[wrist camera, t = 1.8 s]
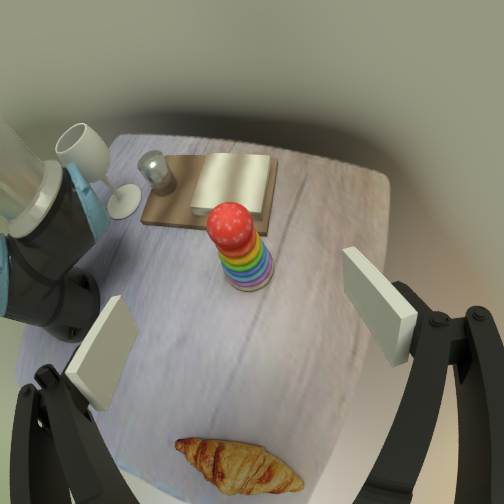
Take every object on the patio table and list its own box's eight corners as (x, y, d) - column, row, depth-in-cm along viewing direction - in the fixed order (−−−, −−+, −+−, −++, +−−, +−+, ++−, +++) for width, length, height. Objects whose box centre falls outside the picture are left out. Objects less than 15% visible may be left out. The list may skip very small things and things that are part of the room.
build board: (143, 224, 50) (133, 213, 46) (167, 159, 56) (160, 146, 51) (266, 236, 46) (265, 224, 42) (277, 163, 52) (277, 148, 48)
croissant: (308, 461, 35) (323, 458, 29) (289, 510, 28) (302, 516, 22) (190, 422, 39) (184, 413, 33) (166, 469, 32) (155, 467, 26)
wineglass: (124, 226, 50) (62, 163, 31) (101, 210, 53) (44, 152, 33) (149, 192, 53) (100, 121, 33) (124, 179, 55) (77, 115, 36)
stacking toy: (232, 242, 47) (205, 175, 29) (278, 251, 45) (276, 185, 28) (219, 286, 44) (180, 239, 27) (267, 297, 43) (258, 254, 25)
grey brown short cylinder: (151, 196, 50) (133, 172, 43) (158, 175, 52) (143, 150, 45) (173, 197, 50) (157, 172, 42) (180, 175, 51) (167, 149, 44)
